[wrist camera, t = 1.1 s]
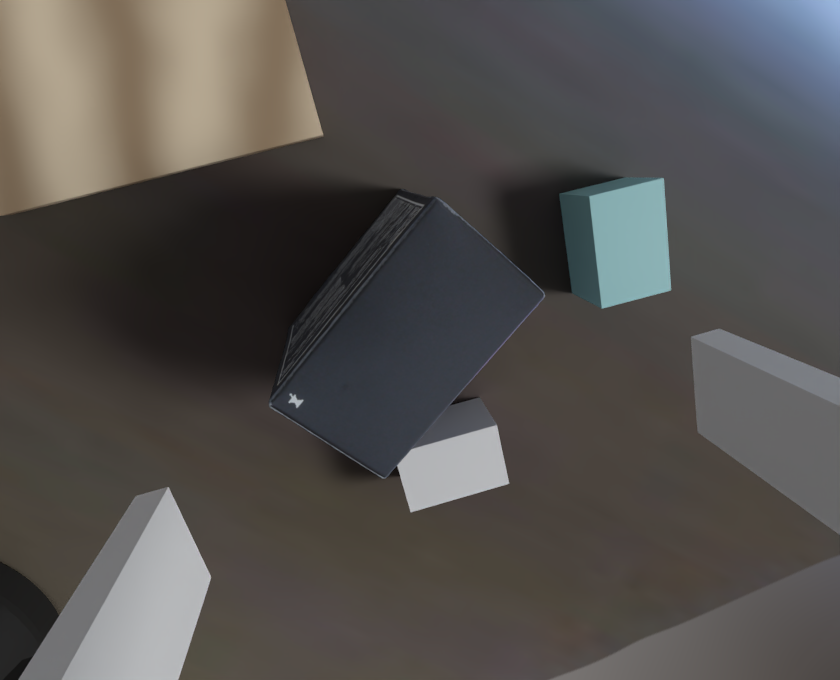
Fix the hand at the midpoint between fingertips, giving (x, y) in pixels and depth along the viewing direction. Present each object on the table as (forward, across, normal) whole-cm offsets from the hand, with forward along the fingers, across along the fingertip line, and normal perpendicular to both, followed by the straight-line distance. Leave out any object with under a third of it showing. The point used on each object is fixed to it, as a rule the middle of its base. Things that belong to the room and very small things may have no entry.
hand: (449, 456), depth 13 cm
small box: (+19, 0, 0) cm, 19 cm away
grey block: (+19, +1, -10) cm, 21 cm away
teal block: (+19, +13, 0) cm, 23 cm away
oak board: (+18, -9, +16) cm, 26 cm away
